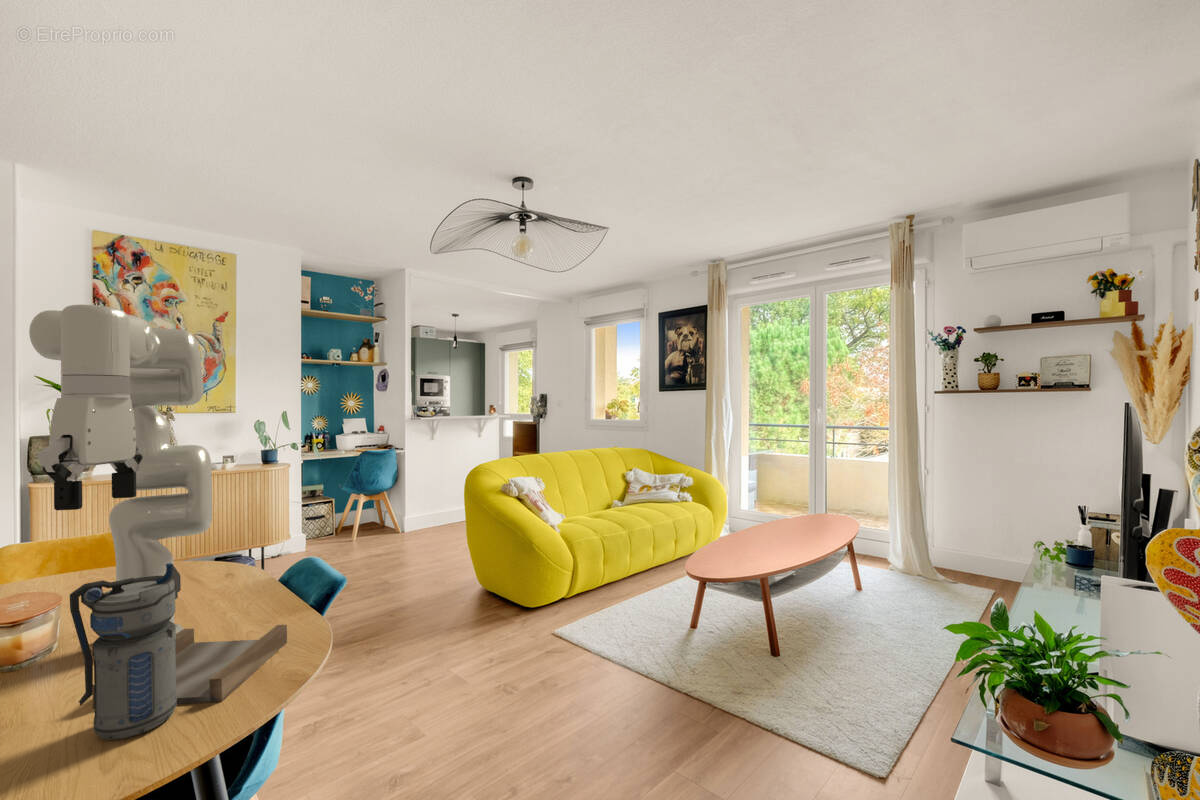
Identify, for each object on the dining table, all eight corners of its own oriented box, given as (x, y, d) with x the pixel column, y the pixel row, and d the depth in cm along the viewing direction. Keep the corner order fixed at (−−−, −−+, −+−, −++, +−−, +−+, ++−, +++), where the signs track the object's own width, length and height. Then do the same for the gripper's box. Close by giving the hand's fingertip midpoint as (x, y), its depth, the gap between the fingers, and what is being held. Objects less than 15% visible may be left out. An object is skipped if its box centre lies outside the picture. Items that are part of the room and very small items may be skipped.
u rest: (93, 708, 90) (92, 685, 90) (184, 647, 112) (184, 628, 112) (222, 701, 92) (221, 678, 92) (287, 643, 114) (286, 624, 114)
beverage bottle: (69, 733, 83) (67, 575, 83) (175, 697, 93) (173, 556, 93) (74, 762, 77) (71, 590, 77) (188, 720, 87) (185, 568, 86)
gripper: (116, 391, 87) (117, 494, 87) (10, 387, 70) (11, 516, 70) (165, 390, 88) (166, 493, 88) (72, 386, 71) (73, 513, 71)
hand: (97, 503), depth 79 cm, fingers open, 9 cm apart
